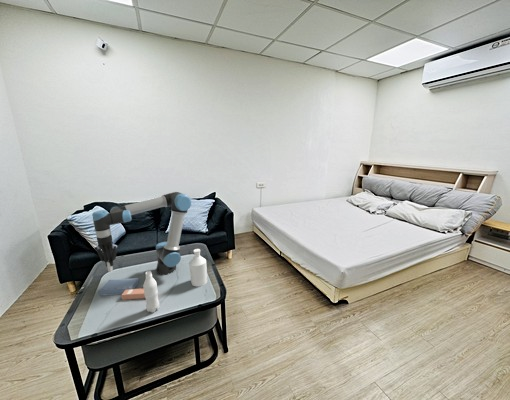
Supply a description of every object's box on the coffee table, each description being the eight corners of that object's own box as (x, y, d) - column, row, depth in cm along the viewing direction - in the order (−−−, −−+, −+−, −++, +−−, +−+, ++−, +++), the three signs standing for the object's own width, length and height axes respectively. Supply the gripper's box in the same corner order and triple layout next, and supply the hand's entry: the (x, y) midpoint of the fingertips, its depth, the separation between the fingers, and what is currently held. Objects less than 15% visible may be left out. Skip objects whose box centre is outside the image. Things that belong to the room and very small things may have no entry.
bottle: (200, 275, 165) (197, 245, 159) (211, 280, 158) (209, 249, 153) (187, 283, 155) (184, 251, 150) (198, 288, 149) (195, 255, 143)
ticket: (138, 282, 157) (138, 277, 156) (131, 293, 145) (130, 288, 144) (109, 284, 155) (109, 279, 154) (99, 295, 144) (98, 290, 143)
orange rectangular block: (157, 292, 145) (156, 287, 145) (154, 297, 140) (153, 292, 139) (126, 294, 144) (125, 289, 143) (122, 299, 138) (121, 294, 138)
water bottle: (149, 305, 133) (144, 269, 127) (161, 305, 133) (156, 268, 128) (144, 314, 126) (139, 276, 120) (157, 313, 126) (152, 275, 121)
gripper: (118, 232, 135) (124, 266, 141) (96, 234, 134) (103, 268, 140) (111, 237, 128) (118, 273, 133) (88, 238, 127) (96, 274, 132)
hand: (110, 270), depth 136 cm, fingers closed
